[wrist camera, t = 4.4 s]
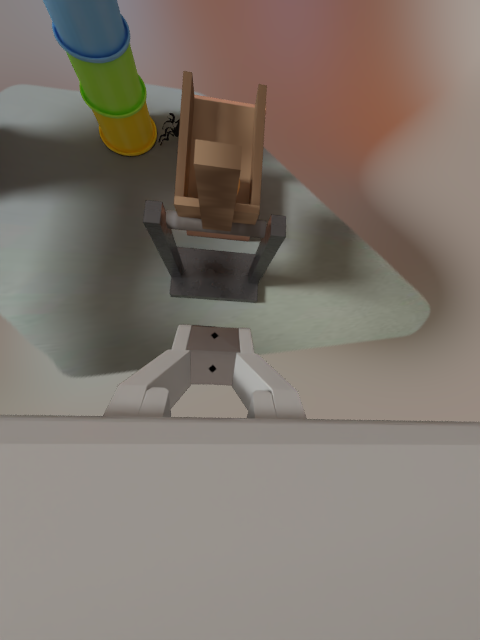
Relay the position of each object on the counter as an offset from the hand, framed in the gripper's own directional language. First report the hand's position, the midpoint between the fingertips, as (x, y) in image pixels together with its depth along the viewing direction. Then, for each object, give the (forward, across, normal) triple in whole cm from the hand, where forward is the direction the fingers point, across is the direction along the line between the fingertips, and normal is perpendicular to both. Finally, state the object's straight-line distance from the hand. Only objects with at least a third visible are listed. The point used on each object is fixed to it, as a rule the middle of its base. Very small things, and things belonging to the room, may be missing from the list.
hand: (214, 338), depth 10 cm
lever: (+23, 0, +5) cm, 23 cm away
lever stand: (+30, 0, -10) cm, 32 cm away
